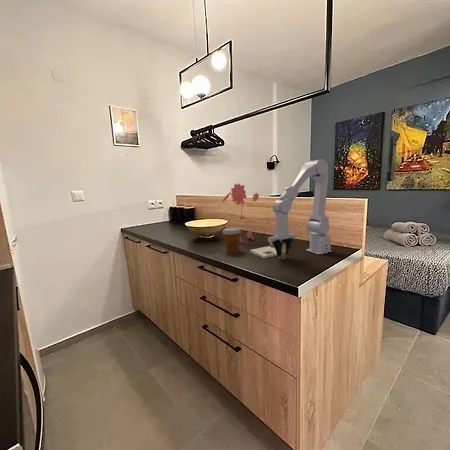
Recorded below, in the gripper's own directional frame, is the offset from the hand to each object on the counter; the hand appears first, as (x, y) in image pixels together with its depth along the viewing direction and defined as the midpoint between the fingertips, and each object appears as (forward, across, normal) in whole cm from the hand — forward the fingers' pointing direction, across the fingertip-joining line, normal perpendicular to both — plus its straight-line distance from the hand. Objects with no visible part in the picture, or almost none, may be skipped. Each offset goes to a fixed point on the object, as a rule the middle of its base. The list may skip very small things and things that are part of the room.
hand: (282, 254), depth 117 cm
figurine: (+2, +2, +43) cm, 43 cm away
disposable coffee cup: (+2, -13, +25) cm, 28 cm away
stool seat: (+2, -1, +11) cm, 11 cm away
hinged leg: (+2, +11, +16) cm, 20 cm away
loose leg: (+2, 0, 0) cm, 2 cm away
